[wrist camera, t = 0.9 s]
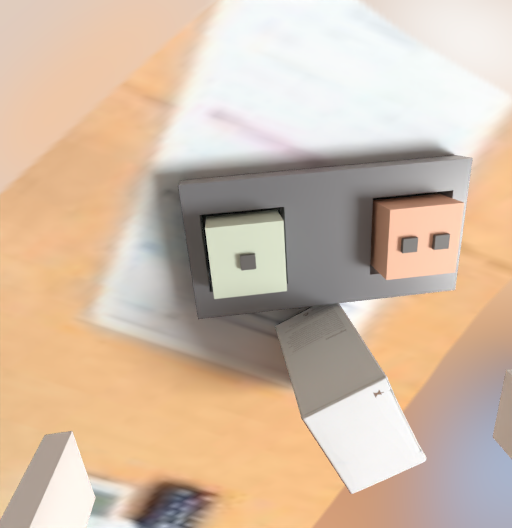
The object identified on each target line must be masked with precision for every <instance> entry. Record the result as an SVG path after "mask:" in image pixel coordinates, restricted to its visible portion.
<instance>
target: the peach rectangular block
mask: <svg viewBox="0 0 512 528" xmlns="http://www.w3.org/2000/svg"><path fill="white" fill-rule="evenodd" d="M463 209H464V202H461V201H458V200H456V199H453V198H450V197H447V196H445V195H442V194H432V195H421V196H411V197H401V198H391V199H380V200H373V207H372V232H371V258H370V265H371V266H372V267H373V268H374V269H375V270H376V271H378V272H379V273H380V274H381V275H382V276H383V277H384V278H385V279H386V280H392V279H401V278H410V277H419V276H428V275H437V274H446V273H455V270H456V263H457V255H458V247H459V240H460V232H461V224H462V217H463Z"/></svg>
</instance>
